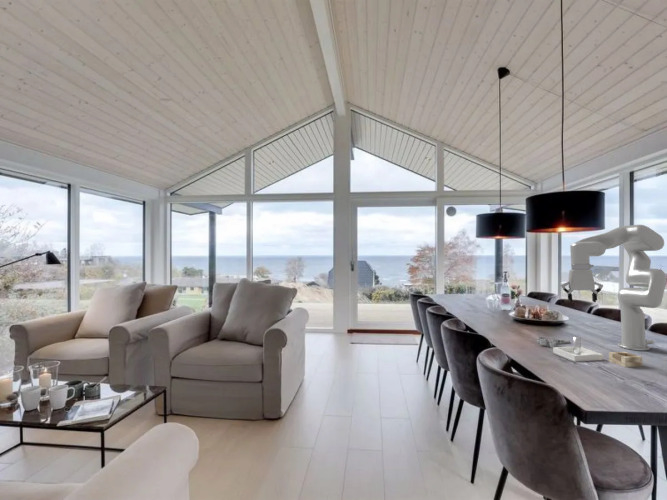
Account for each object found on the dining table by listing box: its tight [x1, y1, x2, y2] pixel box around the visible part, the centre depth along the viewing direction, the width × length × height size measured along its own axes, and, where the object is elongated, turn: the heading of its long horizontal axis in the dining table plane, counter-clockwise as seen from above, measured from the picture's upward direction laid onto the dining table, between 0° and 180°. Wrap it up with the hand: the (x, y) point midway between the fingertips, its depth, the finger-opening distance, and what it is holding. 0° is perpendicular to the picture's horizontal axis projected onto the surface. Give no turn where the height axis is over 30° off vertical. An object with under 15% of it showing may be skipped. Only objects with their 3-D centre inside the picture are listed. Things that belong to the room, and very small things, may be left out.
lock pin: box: [572, 336, 582, 355], centre depth 165 cm, size 3×3×9 cm
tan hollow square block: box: [608, 351, 643, 368], centre depth 153 cm, size 8×8×5 cm
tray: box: [552, 346, 604, 364], centre depth 165 cm, size 14×14×4 cm
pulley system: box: [536, 337, 571, 349], centre depth 189 cm, size 27×5×15 cm
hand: (582, 301), depth 170 cm, fingers open, 9 cm apart
